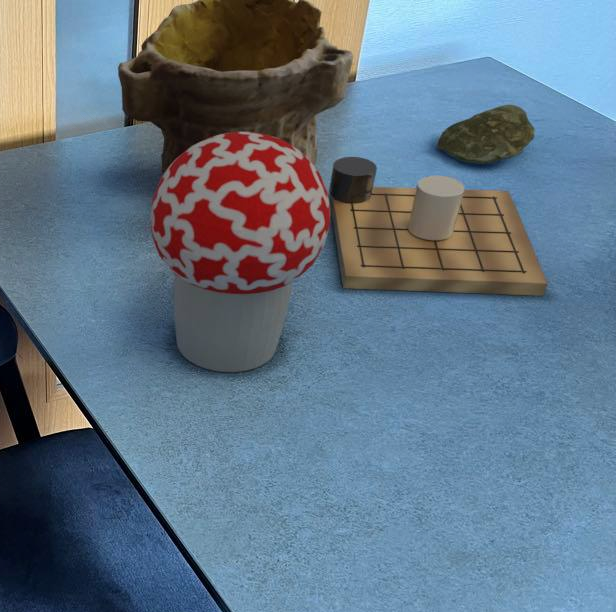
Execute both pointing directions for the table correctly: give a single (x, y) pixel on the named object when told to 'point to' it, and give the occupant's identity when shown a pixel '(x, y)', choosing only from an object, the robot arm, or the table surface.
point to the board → (436, 246)
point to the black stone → (352, 179)
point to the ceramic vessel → (235, 74)
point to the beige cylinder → (435, 207)
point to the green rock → (488, 135)
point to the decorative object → (237, 243)
